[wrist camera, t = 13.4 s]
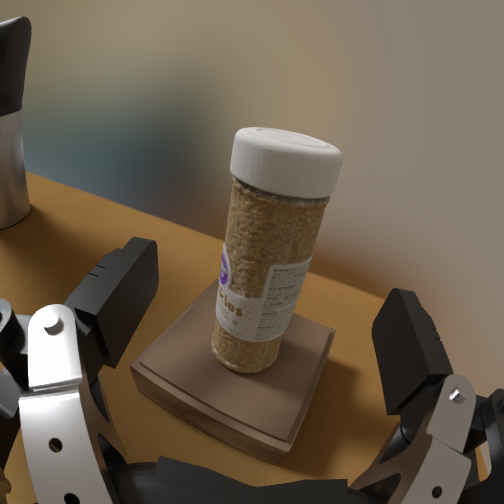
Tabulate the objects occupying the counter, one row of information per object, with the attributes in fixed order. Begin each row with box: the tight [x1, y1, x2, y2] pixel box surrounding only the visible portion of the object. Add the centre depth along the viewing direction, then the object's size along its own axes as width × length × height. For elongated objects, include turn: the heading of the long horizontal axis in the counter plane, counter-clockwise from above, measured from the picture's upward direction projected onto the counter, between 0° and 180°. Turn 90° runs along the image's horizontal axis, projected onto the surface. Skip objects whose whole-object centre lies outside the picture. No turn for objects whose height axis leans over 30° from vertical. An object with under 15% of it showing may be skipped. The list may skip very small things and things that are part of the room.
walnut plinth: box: [129, 279, 336, 465], centre depth 19 cm, size 11×11×4 cm
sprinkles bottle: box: [211, 127, 343, 373], centre depth 14 cm, size 5×5×13 cm
